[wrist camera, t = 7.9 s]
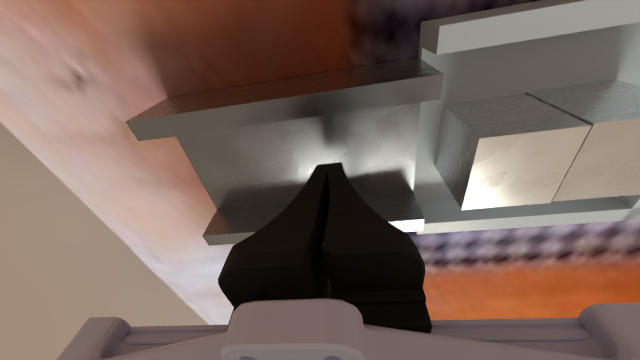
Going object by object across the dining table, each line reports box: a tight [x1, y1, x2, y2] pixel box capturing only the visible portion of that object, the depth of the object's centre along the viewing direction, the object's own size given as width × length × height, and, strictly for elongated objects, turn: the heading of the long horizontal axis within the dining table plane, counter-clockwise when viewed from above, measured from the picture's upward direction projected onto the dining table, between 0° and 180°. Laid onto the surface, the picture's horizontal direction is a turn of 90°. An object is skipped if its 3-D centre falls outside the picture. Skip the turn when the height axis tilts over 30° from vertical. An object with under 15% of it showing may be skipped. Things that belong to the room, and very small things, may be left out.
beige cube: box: [526, 80, 640, 202], centre depth 12 cm, size 4×4×4 cm
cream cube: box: [435, 94, 592, 210], centre depth 12 cm, size 4×4×4 cm
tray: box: [413, 0, 640, 234], centre depth 13 cm, size 12×13×2 cm
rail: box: [126, 57, 444, 245], centre depth 14 cm, size 9×14×4 cm, turn 99°
